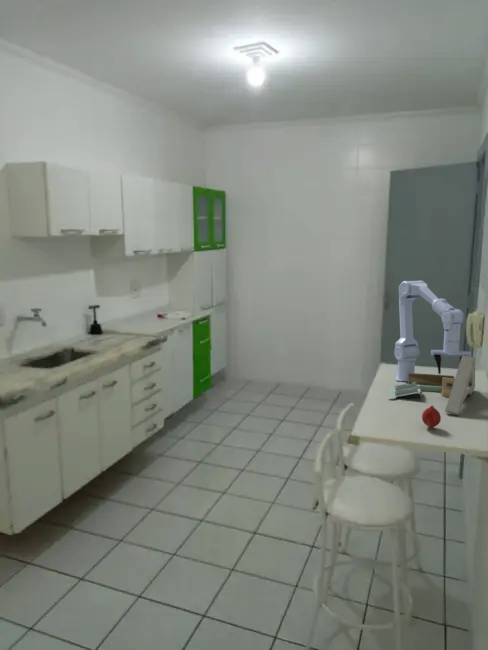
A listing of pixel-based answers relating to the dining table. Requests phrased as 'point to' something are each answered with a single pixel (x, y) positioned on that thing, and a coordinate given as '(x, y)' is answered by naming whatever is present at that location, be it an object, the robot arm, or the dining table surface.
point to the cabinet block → (447, 386)
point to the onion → (431, 417)
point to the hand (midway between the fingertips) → (449, 373)
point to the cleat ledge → (431, 388)
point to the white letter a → (462, 385)
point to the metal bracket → (404, 390)
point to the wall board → (427, 379)
